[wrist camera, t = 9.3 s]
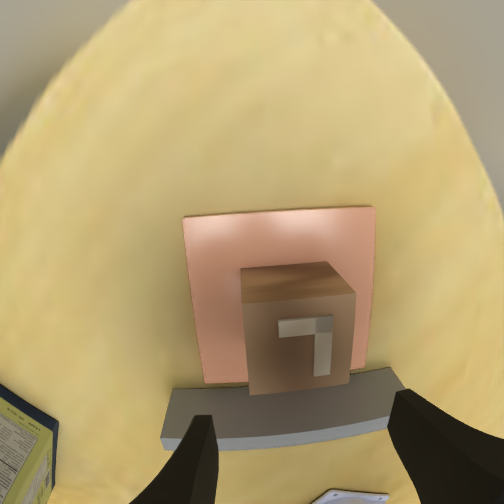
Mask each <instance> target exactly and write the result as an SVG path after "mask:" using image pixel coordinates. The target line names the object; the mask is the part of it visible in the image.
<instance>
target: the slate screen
mask: <svg viewBox="0 0 504 504" xmlns="http://www.w3.org/2000/svg"><path fill="white" fill-rule="evenodd" d="M400 390H405V387H404V386H403V384H402V383H401V381H400V380H399V379H398V377H397V376H396V374H395V373H394V371H393V370H392V369H391V367H389V368H384V369H379V370H374V371H369V372H363V373H357V374H351V375H350V378H349V383H347V384H341V385H335V386H329V387H322V388H315V389H307V390H299V391H291V392H282V393H271V394H260V395H250V391H249V387H232V388H207V389H172V393H171V397H170V401H169V405H168V409H167V412H166V416H165V420H164V424H163V428H162V432H161V436H160V439H161V442H162V444H163V447H164V450H172V451H175V450H176V448H177V447H178V445H179V443H180V442H181V440H182V438H183V437H184V435H185V433H186V431H187V429H188V427H189V425H190V423H191V421H192V419H193V417H194V416H195V415H212V418H213V424H214V429H215V434H216V439H217V444H218V451H234V450H252V449H266V448H277V447H286V446H295V445H303V444H310V443H317V442H323V441H329V440H335V439H341V438H346V437H351V436H356V435H361V434H365V433H370V432H374V431H378V430H382V429H386V428H387V424H388V421H389V417H390V413H391V410H392V406H393V402H394V398H395V393H396V391H400Z"/></svg>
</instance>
